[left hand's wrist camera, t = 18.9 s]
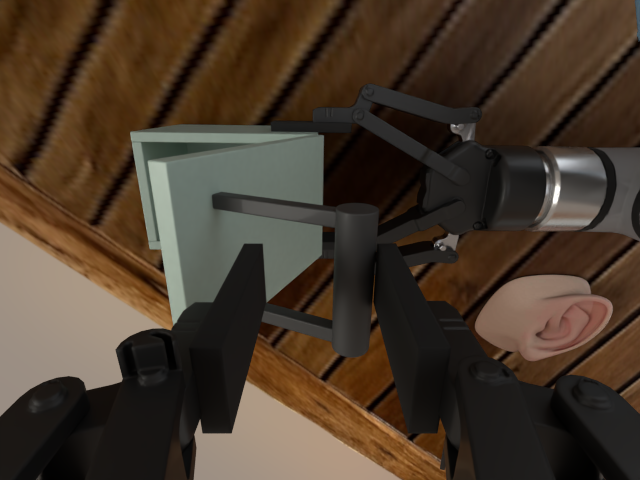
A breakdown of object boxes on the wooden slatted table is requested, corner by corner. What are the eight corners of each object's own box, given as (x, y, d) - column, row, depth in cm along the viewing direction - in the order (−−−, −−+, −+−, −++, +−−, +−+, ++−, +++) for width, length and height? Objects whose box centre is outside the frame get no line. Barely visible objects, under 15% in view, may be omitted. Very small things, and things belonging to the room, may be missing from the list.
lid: (177, 359, 17) (345, 422, 14) (146, 160, 14) (357, 181, 11) (310, 252, 30) (415, 272, 27) (311, 134, 27) (431, 140, 23)
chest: (190, 213, 40) (149, 249, 30) (180, 124, 37) (129, 131, 27) (317, 215, 40) (316, 251, 30) (318, 126, 37) (317, 134, 27)
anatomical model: (479, 365, 42) (512, 280, 38) (466, 344, 46) (495, 264, 42) (585, 378, 43) (628, 296, 39) (564, 357, 47) (601, 279, 43)
